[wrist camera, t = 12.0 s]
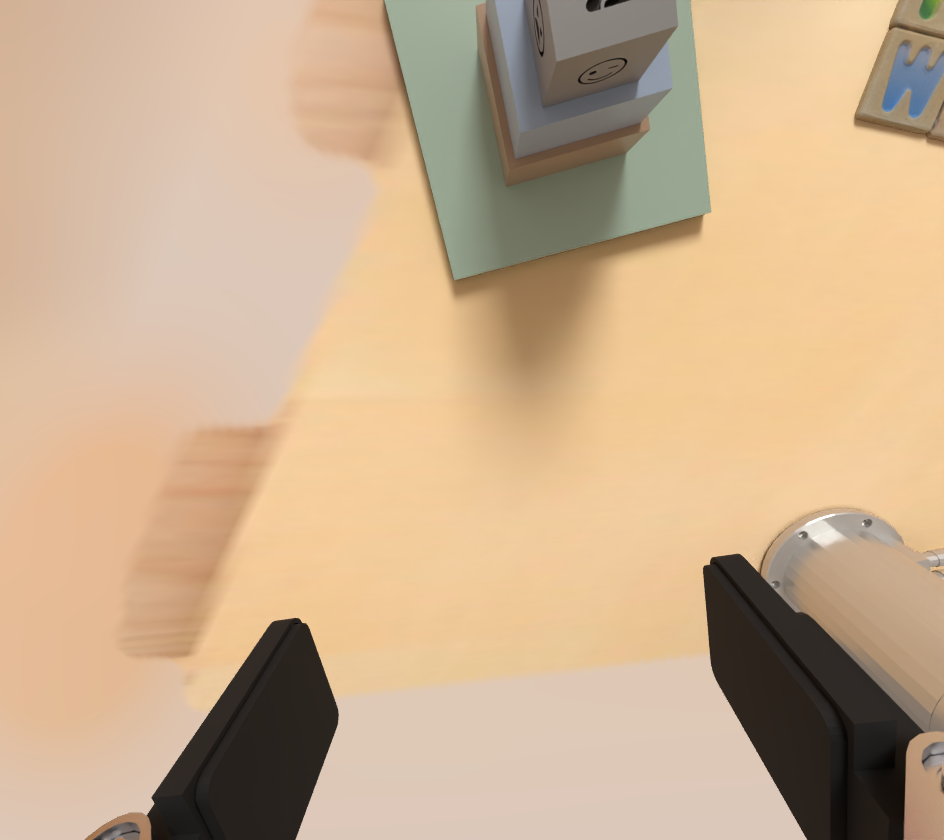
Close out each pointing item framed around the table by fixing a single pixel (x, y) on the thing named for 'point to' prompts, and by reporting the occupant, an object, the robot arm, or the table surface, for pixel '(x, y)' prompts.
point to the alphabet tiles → (909, 72)
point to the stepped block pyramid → (543, 137)
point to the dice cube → (595, 43)
